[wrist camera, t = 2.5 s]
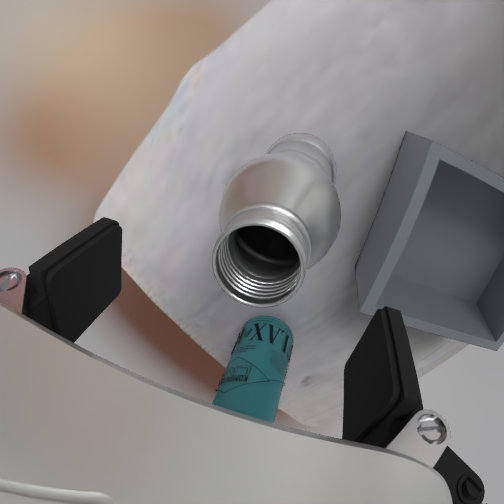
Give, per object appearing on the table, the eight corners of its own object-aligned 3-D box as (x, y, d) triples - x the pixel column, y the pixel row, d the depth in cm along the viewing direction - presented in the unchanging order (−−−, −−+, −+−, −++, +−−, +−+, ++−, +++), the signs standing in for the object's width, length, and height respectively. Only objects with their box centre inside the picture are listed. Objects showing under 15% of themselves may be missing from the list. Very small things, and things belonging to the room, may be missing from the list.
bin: (406, 130, 25) (432, 141, 18) (530, 196, 24) (570, 224, 17) (354, 266, 33) (359, 312, 26) (475, 307, 31) (496, 350, 24)
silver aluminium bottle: (259, 184, 31) (165, 302, 14) (280, 120, 28) (197, 153, 10) (320, 208, 31) (302, 356, 13) (345, 145, 27) (377, 221, 10)
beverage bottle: (307, 330, 38) (279, 481, 20) (269, 353, 41) (229, 490, 23) (268, 296, 37) (216, 448, 19) (233, 323, 40) (172, 459, 22)
